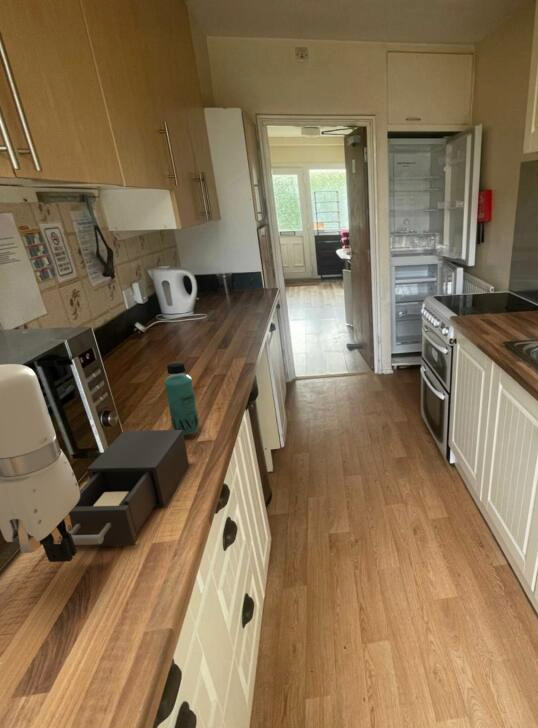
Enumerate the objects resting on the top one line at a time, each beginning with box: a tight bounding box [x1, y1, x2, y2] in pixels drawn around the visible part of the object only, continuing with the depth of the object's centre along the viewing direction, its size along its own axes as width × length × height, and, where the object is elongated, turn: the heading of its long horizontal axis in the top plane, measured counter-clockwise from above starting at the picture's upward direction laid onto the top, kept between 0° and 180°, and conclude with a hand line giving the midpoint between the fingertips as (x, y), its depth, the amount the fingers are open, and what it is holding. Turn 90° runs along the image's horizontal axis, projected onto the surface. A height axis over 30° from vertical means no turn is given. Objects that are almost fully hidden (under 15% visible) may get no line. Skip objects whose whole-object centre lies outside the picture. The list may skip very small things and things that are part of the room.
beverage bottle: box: [164, 361, 200, 436], centre depth 108 cm, size 6×7×20 cm
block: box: [93, 492, 129, 506], centre depth 79 cm, size 4×4×4 cm
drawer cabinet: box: [86, 429, 190, 508], centre depth 90 cm, size 15×13×10 cm
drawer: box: [69, 471, 158, 548], centre depth 78 cm, size 18×11×8 cm, turn 4°
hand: (63, 557), depth 65 cm, fingers closed
